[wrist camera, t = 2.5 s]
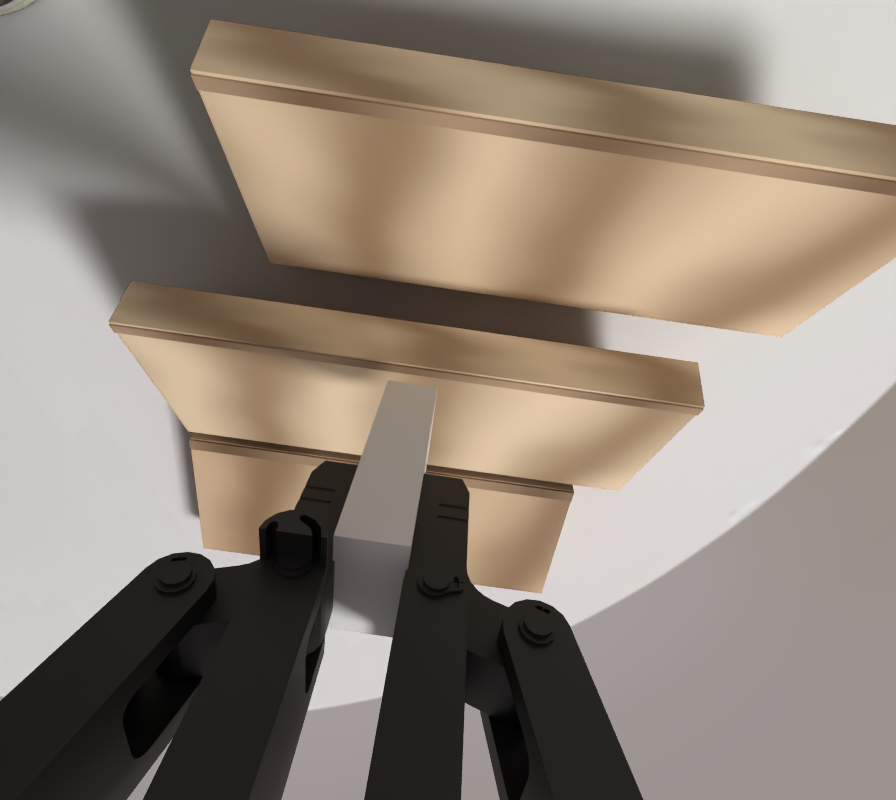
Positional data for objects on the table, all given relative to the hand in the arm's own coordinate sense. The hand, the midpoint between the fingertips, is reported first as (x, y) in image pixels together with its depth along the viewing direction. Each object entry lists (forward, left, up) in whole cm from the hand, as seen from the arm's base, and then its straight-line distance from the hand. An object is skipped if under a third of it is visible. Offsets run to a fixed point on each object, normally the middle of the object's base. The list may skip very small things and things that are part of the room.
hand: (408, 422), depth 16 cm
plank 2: (0, -2, -6) cm, 6 cm away
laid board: (-1, -10, -8) cm, 13 cm away
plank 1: (+4, +7, -5) cm, 9 cm away
